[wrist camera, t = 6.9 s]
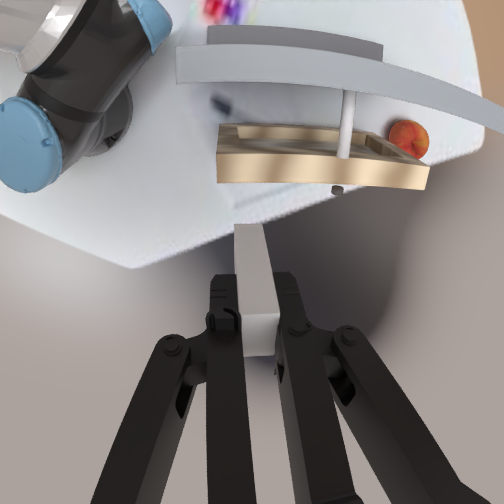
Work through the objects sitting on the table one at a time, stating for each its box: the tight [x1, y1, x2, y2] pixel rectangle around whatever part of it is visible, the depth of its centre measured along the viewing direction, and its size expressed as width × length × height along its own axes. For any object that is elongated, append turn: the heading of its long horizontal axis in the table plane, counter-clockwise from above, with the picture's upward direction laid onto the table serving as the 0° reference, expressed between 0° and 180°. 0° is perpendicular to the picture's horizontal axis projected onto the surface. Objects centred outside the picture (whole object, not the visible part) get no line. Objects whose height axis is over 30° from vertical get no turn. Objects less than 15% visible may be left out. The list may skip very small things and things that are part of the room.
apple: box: [389, 120, 429, 159], centre depth 43 cm, size 7×7×8 cm
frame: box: [216, 124, 430, 196], centre depth 34 cm, size 24×4×18 cm, turn 89°
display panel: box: [176, 25, 504, 159], centre depth 28 cm, size 28×15×30 cm, turn 89°
